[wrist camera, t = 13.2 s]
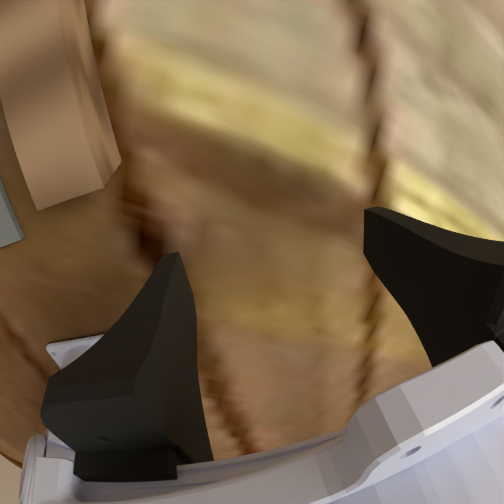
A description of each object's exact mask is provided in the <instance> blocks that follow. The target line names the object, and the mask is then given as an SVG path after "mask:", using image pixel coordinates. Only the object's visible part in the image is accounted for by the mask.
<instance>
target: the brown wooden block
mask: <svg viewBox="0 0 504 504" xmlns="http://www.w3.org/2000/svg"><path fill="white" fill-rule="evenodd" d="M0 98H1V102H2V106H3V110H4V114H5V118H6V122H7V125H8V129H9V132H10V136H11V139H12V142H13V145H14V149H15V152H16V155H17V158H18V161H19V164H20V167H21V169H22V172H23V175H24V178H25V180H26V183H27V186H28V188H29V191H30V194H31V196H32V199H33V201H34V204H35V206H36V209H37V211H39V210H42V209H44V208H47V207H50V206H53V205H55V204H58V203H61V202H64V201H67V200H69V199H72V198H75V197H78V196H81V195H84V194H87V193H90V192H93V191H96V190H99V189H102V188H104V186H105V185H106V183H107V182H108V180H109V179H110V177H111V176H112V175H113V173H114V172H115V170H116V169H117V167H118V166H119V165H120V163H121V162H122V161H121V158H120V154H119V151H118V148H117V144H116V141H115V137H114V134H113V130H112V126H111V123H110V119H109V115H108V112H107V108H106V104H105V100H104V96H103V92H102V88H101V83H100V79H99V75H98V70H97V66H96V61H95V57H94V52H93V47H92V42H91V37H90V32H89V26H88V21H87V15H86V9H85V3H84V0H0Z"/></svg>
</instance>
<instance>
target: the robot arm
mask: <svg viewBox="0 0 504 504" xmlns="http://www.w3.org/2000/svg"><path fill="white" fill-rule="evenodd" d="M363 253H364V255H365V257H366V259H367V261H368V262H369V264H370V266H371V268H372V269H373V271H374V273H375V274H376V275H377V277H378V278H379V279H380V280H381V282H382V283H383V284H384V286H385V287H386V288H387V290H388V291H389V292H390V293H391V295H392V296H393V297H394V299H395V300H396V301H397V303H398V304H399V305H400V307H401V308H402V309H403V311H404V312H405V314H406V315H407V317H408V318H409V320H410V322H411V324H412V326H413V327H414V329H415V331H416V333H417V335H418V337H419V339H420V341H421V343H422V345H423V347H424V349H425V351H426V353H427V355H428V358H429V360H430V362H431V365H432V367H433V368H431V369H429V370H426V371H424V372H422V373H420V374H418V375H415V376H413V377H411V378H409V379H406V380H404V381H402V382H399V383H397V384H395V385H393V386H391V387H389V388H387V389H385V390H384V391H382V392H380V393H378V394H376V395H374V396H373V397H372V398H370V399H369V400H368V401H367V402H365V403H364V404H363V405H362V406H360V407H359V408H358V409H357V410H356V412H355V413H354V415H353V416H352V418H351V419H350V421H349V423H348V425H347V427H346V428H344V429H341V430H338V431H335V432H332V433H329V434H326V435H323V436H319V437H316V438H313V439H309V440H306V441H302V442H299V443H295V444H291V445H288V446H284V447H280V448H276V449H271V450H267V451H263V452H258V453H254V454H249V455H244V456H239V457H233V458H228V459H222V460H216V461H214V458H213V454H212V450H211V446H210V441H209V437H208V432H207V427H206V422H205V417H204V411H203V406H202V400H201V393H200V387H199V380H198V370H197V321H196V310H195V303H194V296H193V292H192V289H191V287H190V284H189V281H188V278H187V275H186V272H185V269H184V266H183V263H182V260H181V257H180V254H179V252H175V253H171V254H167V255H163V256H162V258H161V259H160V261H159V262H158V264H157V266H156V267H155V269H154V271H153V272H152V274H151V275H150V277H149V279H148V280H147V282H146V283H145V285H144V287H143V288H142V289H141V291H140V292H139V294H138V295H137V297H136V298H135V299H134V301H133V302H132V304H131V305H130V306H129V308H128V309H127V310H126V311H125V313H124V314H123V315H122V316H121V317H120V318H119V320H118V321H117V322H116V323H115V324H114V325H113V326H112V327H111V328H110V329H109V330H108V331H107V332H106V333H105V334H103V335H98V336H92V337H87V338H81V339H75V340H69V341H63V342H57V343H51V344H47V346H46V350H47V352H48V353H49V354H50V356H51V357H52V358H53V359H54V361H55V362H56V363H57V364H58V366H59V367H60V368H61V369H60V371H58V372H57V373H55V374H54V375H52V376H51V377H49V380H48V384H47V388H46V392H45V396H44V400H43V404H42V408H41V419H42V421H43V423H44V425H45V426H46V428H47V431H46V434H45V436H44V435H42V434H39V433H37V434H36V435H34V436H32V437H30V438H29V441H28V444H27V447H26V452H25V456H24V461H23V467H22V473H21V480H20V490H19V499H20V504H504V242H502V241H494V240H488V239H482V238H477V237H472V236H468V235H464V234H460V233H456V232H452V231H449V230H446V229H443V228H440V227H437V226H434V225H431V224H428V223H425V222H422V221H420V220H417V219H414V218H412V217H409V216H406V215H404V214H401V213H398V212H395V211H392V210H389V209H386V208H383V207H378V206H377V207H373V208H368V209H364V248H363Z"/></svg>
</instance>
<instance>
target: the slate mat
mask: <svg viewBox="0 0 504 504" xmlns="http://www.w3.org/2000/svg"><path fill="white" fill-rule="evenodd" d="M23 237H24V234H23V232H22V229H21V227H20V225H19V223H18V220H17V218H16V216H15V214H14V211H13V209H12V206H11V204H10V202H9V199H8V197H7V194H6V191H5V189H4V186H3V184H2V181H1V178H0V247H3V246H6V245H8V244H11V243H14V242H16V241H19V240H21V239H22V238H23Z"/></svg>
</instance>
